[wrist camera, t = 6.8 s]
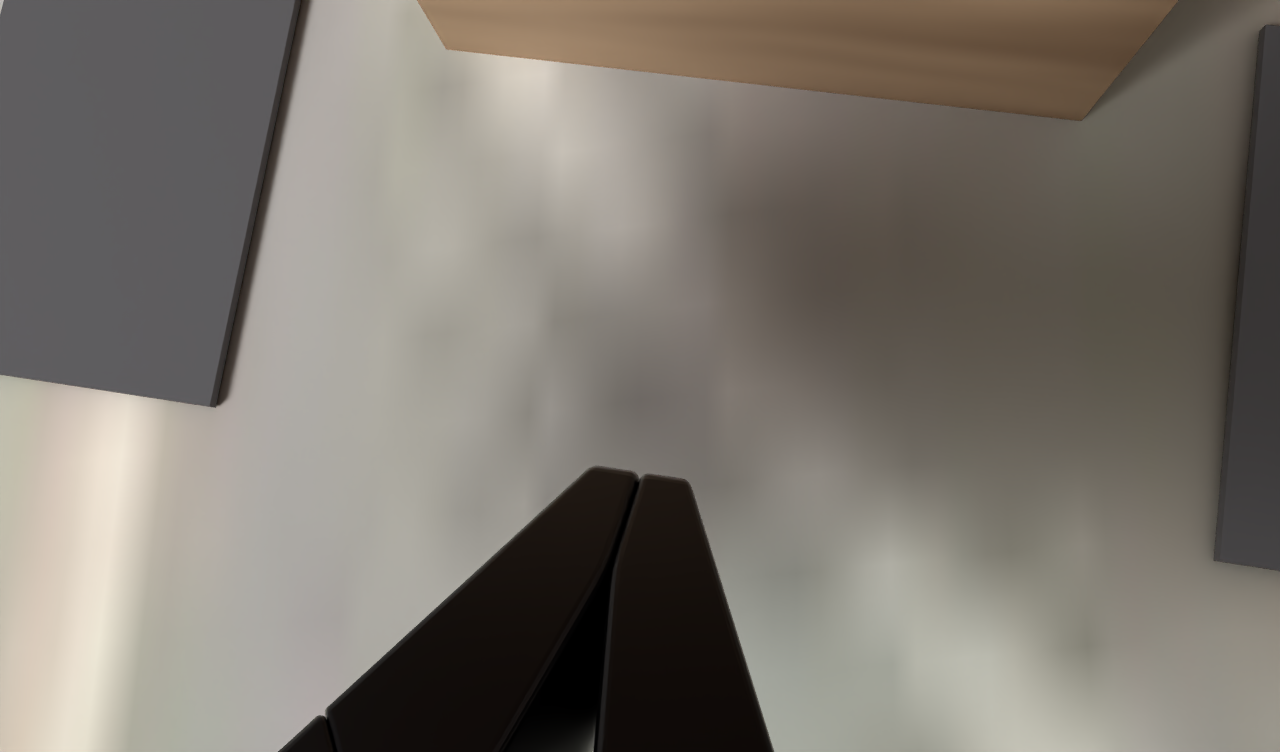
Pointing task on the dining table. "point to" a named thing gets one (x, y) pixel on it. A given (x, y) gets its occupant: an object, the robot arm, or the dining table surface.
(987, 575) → the dining table surface
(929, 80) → the walnut block
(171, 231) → the mats
